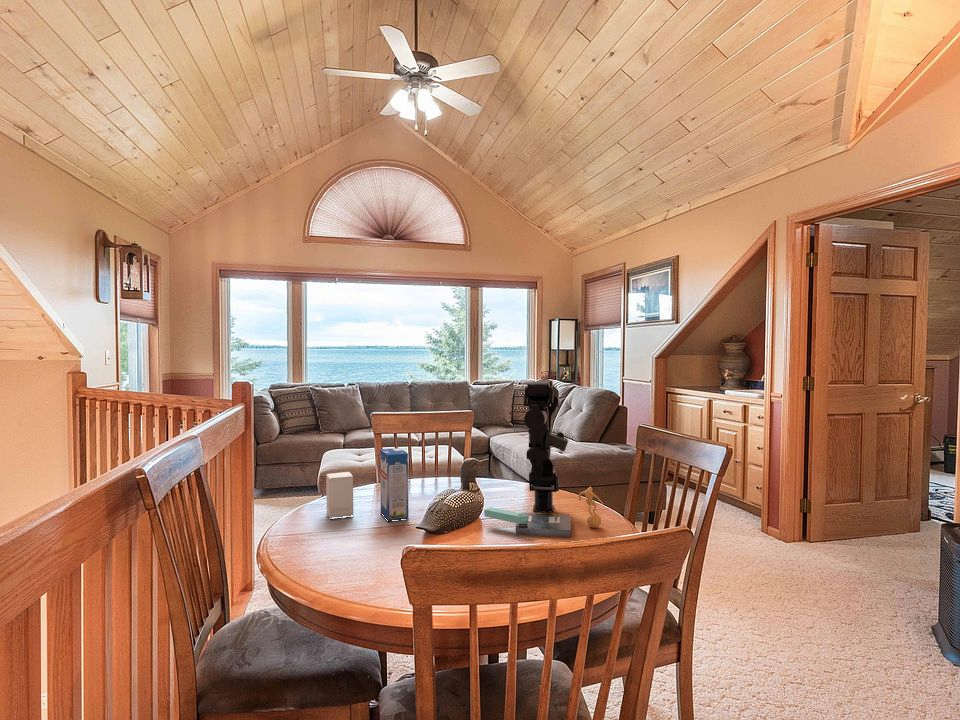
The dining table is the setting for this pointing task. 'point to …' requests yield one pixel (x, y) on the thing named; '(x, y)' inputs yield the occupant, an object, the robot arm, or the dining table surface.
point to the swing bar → (506, 515)
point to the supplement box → (339, 494)
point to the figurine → (593, 518)
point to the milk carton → (394, 483)
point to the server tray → (545, 525)
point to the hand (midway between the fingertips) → (538, 478)
